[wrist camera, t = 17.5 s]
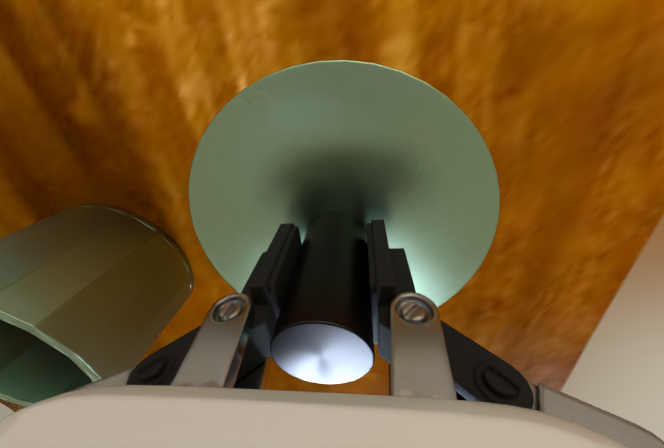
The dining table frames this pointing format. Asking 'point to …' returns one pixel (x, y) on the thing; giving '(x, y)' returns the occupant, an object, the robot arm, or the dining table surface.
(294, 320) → the lid
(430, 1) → the dining table surface
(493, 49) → the dining table surface
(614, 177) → the dining table surface
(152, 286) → the pot
